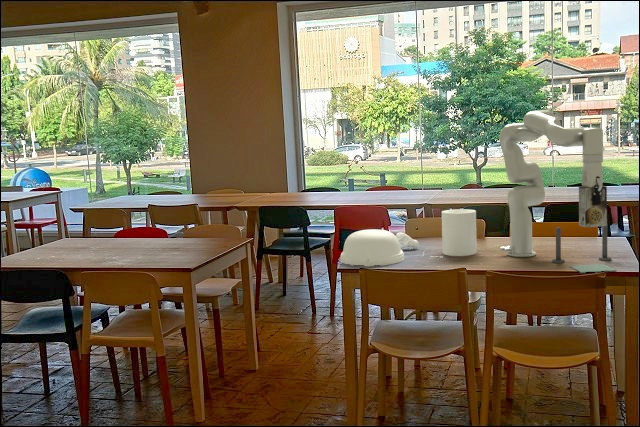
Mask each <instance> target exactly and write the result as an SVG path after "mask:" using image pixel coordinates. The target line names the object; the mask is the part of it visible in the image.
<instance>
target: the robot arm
mask: <svg viewBox="0 0 640 427" xmlns="http://www.w3.org/2000/svg"><path fill="white" fill-rule="evenodd" d="M561 123H562V122H561V120H560V119H559V118H557V117H556V114H555V113H553V111H551V110H532V111H529V112H527V113H526V114H525V115H523V119H522V122H518V123H510V124H506V125H505V126H504V127H502V129H501V130H500V133H499V146H500V148H501V151H502V154H503V159H504V160H503V161H504V164H505V165H504V166H505V171H506V175H507V176H506V177H507V180H508V182H510V183H511V184H526V185H516V186H515V187H512V188H511V189H510V190H509V191H508V193H507V204H508V208H509V222H510V223H509V224H510V225H509V227H510V244H508V245H507V246H500V247H499V249H500V250H499V251H500V252H507V253H506V254H507V255H508V256H511V257H516V258H518V257H519V258H527V257H534V256H536V254H537V252H536V251H534V250H533V217H532V212H531V210H530V209H529V207H532V206H539V205H541V204H542V203H544V200H545V196H546V193H545V185H544V181H543V179H544V178H543V175H542V171H541V168H540V166H539V165H538V164H537V163H536V162H534V161H525V159H524V152H523V150H522V149H521V147H520V146H519V145H518V144H517V143H524V142H533V141H536V140H539V138H541V137H542V136H545V137H546V139H548V141H549V142H550V143H552V144H555V145H558V146H560V147H564V148H571V147H582V170H581V172H582V173H581V186H585V187H589V188H592V189H593V195H592V205H600V204H601V189H602V185H603V180H604V176H603V163H604V131H603V128H601V127H583V126H582V127H562V126H561V125H562V124H561ZM594 186H597V187H594ZM595 189H596V190H595Z"/></svg>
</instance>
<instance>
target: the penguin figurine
mask: <svg viewBox="0 0 640 427" xmlns="http://www.w3.org/2000/svg"><path fill="white" fill-rule="evenodd" d="M395 236H396V237H397V239H398V241H399V244H400V248H401V250H402V251H403V248H407V247H412V248H413V250H417V248H418V247H419V246H420V242H419V241H418V240H417V239H413V238H412V237H411V236H409V235H408V234H406V233H405V232H397V233H396V234H395Z"/></svg>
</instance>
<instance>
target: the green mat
mask: <svg viewBox="0 0 640 427" xmlns="http://www.w3.org/2000/svg"><path fill="white" fill-rule="evenodd" d="M569 268H571V269H573V270H574V269H575V270H574V271H576V270H577V271H576V272H578V271H579V272H578V273H580V274H587V273H586V272H595V273H602V272H601V271H615V272H617V269H615V268H613V267H611V266H608V265H606V264H605V263H604V264H601V263H600V264H599V263H598V264H581V265H569Z"/></svg>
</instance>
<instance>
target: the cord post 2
mask: <svg viewBox="0 0 640 427" xmlns="http://www.w3.org/2000/svg"><path fill="white" fill-rule="evenodd" d="M601 228H602V229H601V230H602V231H601V232H602V233H601V234H602V235H601V241H602V242H601V244H602V245H601V247H602V249H601V252H602V254H601V255H602V256H599V257H598V261H602V262H609V261H611V260H612V257H611V256H608V225H607V226H601Z"/></svg>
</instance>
